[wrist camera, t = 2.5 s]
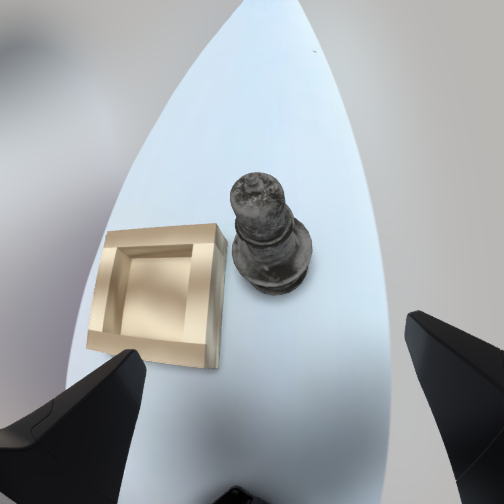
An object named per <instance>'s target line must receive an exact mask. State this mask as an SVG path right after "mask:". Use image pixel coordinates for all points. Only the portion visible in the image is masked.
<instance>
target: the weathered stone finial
mask: <svg viewBox="0 0 504 504" xmlns="http://www.w3.org/2000/svg"><path fill="white" fill-rule="evenodd" d="M230 202H231V206H232V208H233V211H234V213H235V215H236V219H235V229H236V232H237V234H236V236H235V239H234V242H233V245H232V257H233V261H234V264H235V266H236V268H237V270H238V271H239V273H240V274H241V275H242V276H243V277H244V278H245V279H246V280H248V281H250V283H251V284H252V285H253V286H254V287H255V288H256V289H257V290H259V291H261V292H263V293H265V294H269V295H282V294H285V293H289V292H291V291H292V290H294V289H296V288H297V287H298V286H299V285H300V284H301V283H302V281H303V280H304V278H305V276H306V273H307V269H308V264H309V262H310V259H311V254H312V240H311V238H310V235H309V232H308V230H307V229H306V228H305V226H304V225H303V224H302V223H301V222H300V221H298V220H297V219H296V218H294V216H293V213H292V211H291V209H290V208H289V207H288V205H287V204H285V197H284V191H283V188H282V186H281V184H280V183H279V182H278V180H277V179H276V178H274V177H273V176H271V175H268V174H266V173H260V172H255V173H249V174H246V175H244V176H242V177H241V178H240V179H239V180H237V181H236V183H235V184H234V185H233V187H232V189H231V192H230Z"/></svg>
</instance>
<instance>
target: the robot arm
mask: <svg viewBox="0 0 504 504" xmlns="http://www.w3.org/2000/svg"><path fill="white" fill-rule="evenodd" d="M405 341H406V344H407V347H408V350H409V352H410V355H411V359H412V362H413V365H414V368H415V371H416V374H417V377H418V380H419V382H420V384H421V387H422V389H423V391H424V394H425V396H426V398H427V401H428V403H429V406H430V408H431V411H432V413H433V416H434V418H435V421H436V423H437V426H438V429H439V431H440V434H441V437H442V440H443V442H444V445H445V448H446V451H447V454H448V457H449V460H450V463H451V466H452V470H453V473H454V476H455V479H456V480H457V481H456V483H457V487H458V491H459V494H460V498H461V502H462V504H504V350H500V349H499V348H497V347H495V346H493V345H491V344H489V343H487V342H485V341H483V340H481V339H479V338H477V337H474V336H473V335H470V334H468V333H466V332H464V331H462V330H460V329H458V328H456V327H454V326H452V325H450V324H448V323H445V322H443V321H441V320H439V319H437V318H435V317H433V316H430V315H428V314H426V313H424V312H422V311H419V310H418V311H414V312H410V313H408V315H407V318H406V326H405ZM145 377H146V366H145V364H144V362H143V360H142V358H141V356H140V354H139V353H138V351H137V350H136V349H125V350H123V351H122V352H120V353H119V354H117V355H116V356H115V357H113V358H112V359H110V360H109V361H107V362H106V363H104V364H103V365H102V366H100V367H99V368H97V369H96V370H94V371H93V372H91V373H90V374H89V375H87V376H86V377H84V378H83V379H81V380H80V381H78V382H77V383H75V384H74V385H73V386H71V387H70V388H68V389H67V390H65V391H64V392H62V393H61V394H60V395H58V396H57V397H56V398H55V399H52V400H51V401H49V402H48V403H46V404H45V405H43V406H42V407H40V408H39V409H37V410H35V411H34V412H32V413H31V414H29V415H27V416H25V417H23V418H22V419H20V420H18V421H16V422H15V423H13V424H11V425H10V426H7V427H5V428H3V429H0V504H117V502H118V497H119V492H120V488H121V483H122V478H123V474H124V469H125V465H126V461H127V457H128V453H129V449H130V444H131V441H132V437H133V433H134V429H135V425H136V421H137V418H138V414H139V410H140V406H141V400H142V394H143V389H144V383H145ZM233 490H237V491H238V493H235V492H234V491H233ZM212 504H268V503H266V502H264V501H263V500H261V499H260V498H258V497H254V496H252V495H251V494H249V493H248V492H246V491H245V490H243V489H242V488H241V487H239V486H233V487H231V488H230V489H229V490H228V491H227V492H225V493H224V494H223V495H222V496H221V497H219V498H218V499H217V500H216V501H214V502H213V503H212Z"/></svg>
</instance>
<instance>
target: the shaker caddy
mask: <svg viewBox="0 0 504 504" xmlns="http://www.w3.org/2000/svg"><path fill="white" fill-rule="evenodd" d="M226 254H227V240H226V239H225V237H224V235H223V234H222V232H221V230H220V229H219V227H218V225H217V224H216V223H213V224H197V225H182V226H168V227H155V228H142V229H130V230H119V231H108V232H107V235H106V239H105V243H104V247H103V251H102V256H101V260H100V265H99V269H98V274H97V279H96V284H95V289H94V295H93V301H92V307H91V313H90V320H89V328H88V336H87V345H86V349H90V350H95V351H99V352H104V353H108V354H113V355H117V354H119V353H120V352H122V351H123V350H125V349H136V350H137V351H138V353H139V354H140V356H141V358H142V360H145V361H152V362H158V363H165V364H172V365H180V366H188V367H197V368H219V351H220V335H221V320H222V305H223V292H224V279H225V266H226Z"/></svg>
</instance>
